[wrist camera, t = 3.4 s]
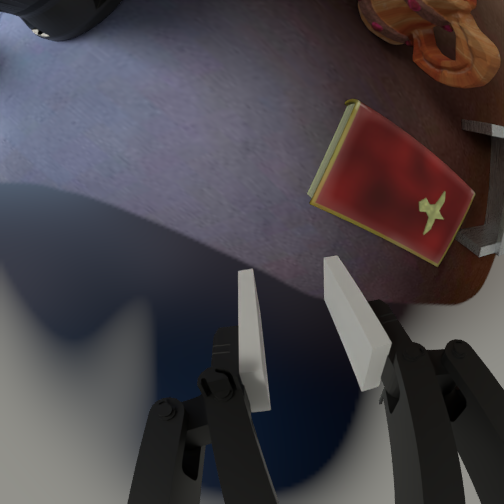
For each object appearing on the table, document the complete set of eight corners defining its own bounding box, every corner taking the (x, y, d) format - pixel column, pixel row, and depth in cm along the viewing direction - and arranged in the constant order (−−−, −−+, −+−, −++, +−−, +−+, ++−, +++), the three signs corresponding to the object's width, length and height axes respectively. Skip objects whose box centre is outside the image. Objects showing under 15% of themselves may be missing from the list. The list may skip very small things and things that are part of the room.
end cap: (455, 239, 33) (483, 260, 26) (461, 119, 25) (497, 125, 18) (487, 232, 32) (513, 250, 26) (495, 125, 24) (527, 133, 18)
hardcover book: (344, 100, 25) (360, 97, 21) (459, 183, 29) (478, 192, 25) (301, 194, 30) (310, 205, 26) (423, 254, 34) (438, 268, 30)
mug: (334, -11, 18) (393, -73, 4) (388, -12, 17) (458, -53, 3) (383, 95, 24) (479, 92, 11) (432, 86, 23) (523, 89, 10)
